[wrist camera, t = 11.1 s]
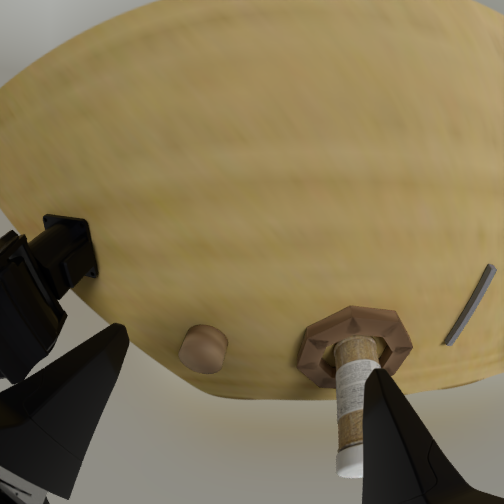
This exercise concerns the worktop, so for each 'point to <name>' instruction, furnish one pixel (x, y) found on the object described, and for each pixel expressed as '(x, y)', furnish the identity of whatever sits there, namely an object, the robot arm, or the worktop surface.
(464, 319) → the grey rectangular bar
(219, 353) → the small wooden bead
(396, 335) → the walnut ring
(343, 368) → the sprinkles bottle
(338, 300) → the worktop surface
